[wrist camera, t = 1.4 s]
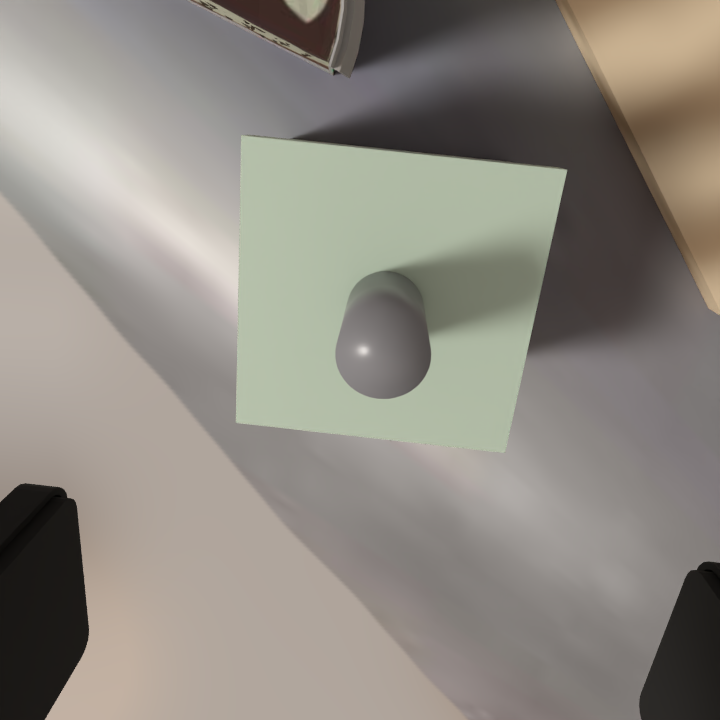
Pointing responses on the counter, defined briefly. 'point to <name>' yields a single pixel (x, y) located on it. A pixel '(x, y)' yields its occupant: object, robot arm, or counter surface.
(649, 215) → the counter surface
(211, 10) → the food container
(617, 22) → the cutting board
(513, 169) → the lid
